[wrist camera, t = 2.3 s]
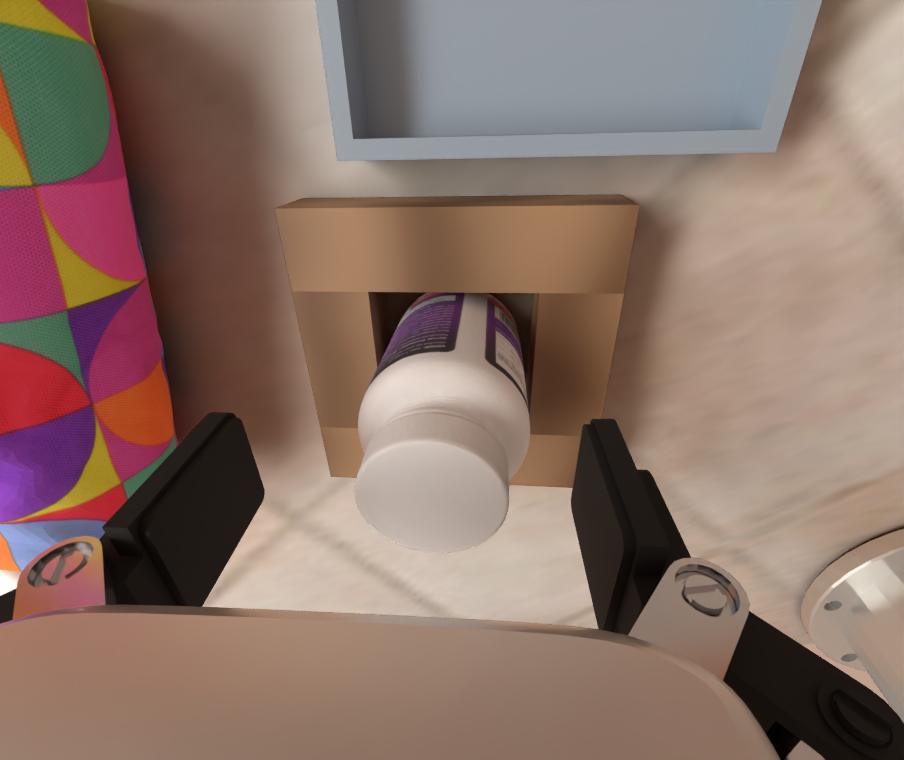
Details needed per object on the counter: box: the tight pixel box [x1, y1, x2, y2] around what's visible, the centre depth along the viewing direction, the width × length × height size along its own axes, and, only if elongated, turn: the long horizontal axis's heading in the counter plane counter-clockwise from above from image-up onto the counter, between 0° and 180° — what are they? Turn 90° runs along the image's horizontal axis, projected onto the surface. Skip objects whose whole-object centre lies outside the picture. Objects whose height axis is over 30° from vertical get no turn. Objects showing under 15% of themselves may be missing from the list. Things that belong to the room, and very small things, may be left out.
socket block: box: [275, 195, 640, 488], centre depth 18 cm, size 12×12×2 cm
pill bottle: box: [355, 292, 530, 553], centre depth 15 cm, size 5×5×10 cm
